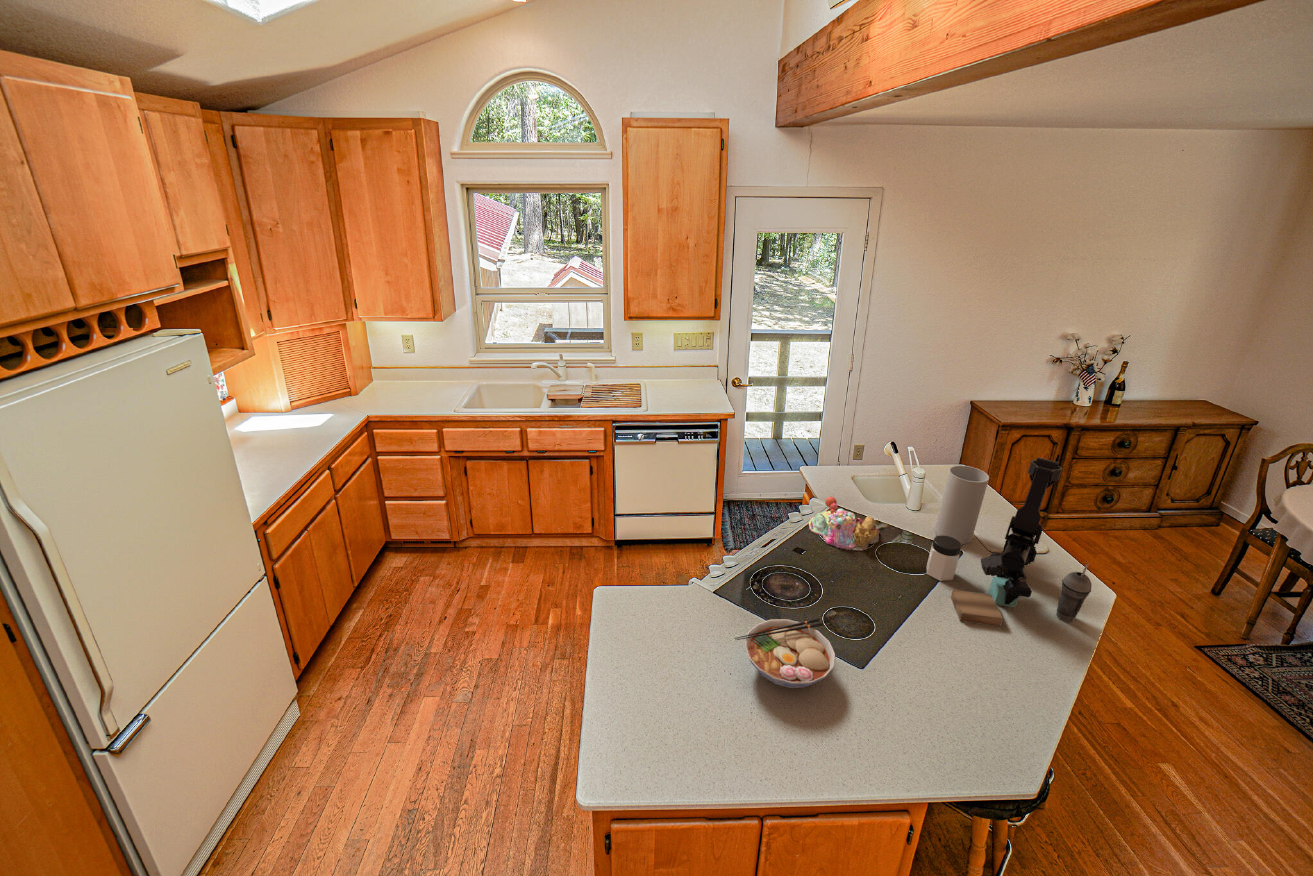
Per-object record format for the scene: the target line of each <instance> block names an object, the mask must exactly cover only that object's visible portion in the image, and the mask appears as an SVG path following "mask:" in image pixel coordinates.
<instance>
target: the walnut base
mask: <svg viewBox="0 0 1313 876" xmlns="http://www.w3.org/2000/svg"><path fill="white" fill-rule="evenodd" d="M950 600H951V602H952V605H953V607H954V610H955V612H956V615H957V618H958V620H959V622H961V623H962V622H963V623H970V624H975V625H976V624H979V625H985V626H992V627H993V626H994V627H1001V626H1002V622H1003V619H1004V618H1003V616H1002V614H1001V611H1000V609H999V608H998V605H996V603H995V601H994V599H993V597H992V595H991V594H989V593H983V592H982V593H981V592H974V591H967V590H958V589H952V592H951V595H950Z"/></svg>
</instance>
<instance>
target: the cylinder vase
mask: <svg viewBox="0 0 1313 876" xmlns="http://www.w3.org/2000/svg"><path fill="white" fill-rule="evenodd" d="M947 473H948V474H947V477H946V481H945V484H944V487H943V488H944V489H943V493H942V495H941V501H940V506H939V508H938V513H937V517H936V521H935V525H934V529H933V530H934V533H935V535H936V536H940V535H944V536H949V537H952V538H954V539H956V540H958V541H959V542H960V543H961V545H967V544H969V543H971V541H972V540H973V537H974V534H975V530H976V527H977V522H978V519H979V516H980V512H981V509H982V505H983V501H984V497H985V494H986V490H987V487H988V484H989V479H990V476H989V475H988V474H987V472H985V471H983V470H982V469H980V468H976V467H974V466H969V465H959V464H958V465H953V466H951V467H949V469H948V472H947Z"/></svg>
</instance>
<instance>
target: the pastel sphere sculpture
mask: <svg viewBox="0 0 1313 876" xmlns="http://www.w3.org/2000/svg"><path fill="white" fill-rule="evenodd" d="M824 502H825V503H824V504H825V506H826V507H827V508H829V510H828V511H825V510H824V511H821V512H820V511H818V512H817V513H816V514H815V515H813V517H810V520H809V521H808V527H809V530H810V531H811V532H812V533H814V534H815V535H819V536H821V538H823V540H824V541H825V543H826V544H827V545H832V547H833V546H834V547H836V548H837V549H839V548H840V549H841V550H842V549H845V550H854V551H864V550H865V551H866V550H867V549H868V547H869V544H870V545H872V544H876V543H879V541H880V540H879V539H880V536H879V533H880V530H879V529H878V528H877V527H876V525H875V524H876V523H875V522H876V520H875V519H874V518H873V517H871V516H869V515H867V516H866V517H865V518H859V517H857V516H856V515H855V514H854V513H853V512H851V511H847V510H845V509H843V508H839V506H838V503H837V502H838V501H837V499H836V498H835V497H834V496H829V497H827V498H826V499H825V501H824Z"/></svg>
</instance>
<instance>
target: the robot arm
mask: <svg viewBox="0 0 1313 876" xmlns="http://www.w3.org/2000/svg"><path fill="white" fill-rule="evenodd" d="M1029 463H1030V464H1029V467H1028V471H1027V474H1029V479H1030V482H1031V485H1030V488H1029V490H1028V492H1027V496H1026V499H1025V502H1024V504H1023V506H1021V507H1019V508H1018V509H1017V510H1016V513H1015V515H1014V516H1011V519H1010V522H1009V526H1008V528H1007V531H1006V534H1005V537H1004V540H1005V541H1004V542H1005V543H1004V545H1003V549H1002V552H996V551H994V552H991V553H990V554H989V556H986V557H982V558H980V565H981V570H982V571H983V573H984V575H985V576H990V577H991V576H992V577H1001V578H1009V580H1008V581H1006V582H1005V585H1003V587H1004V589H1005V591H1006V595H1005V604H1007V605H1009V604H1010V603H1011V602H1013V601H1014V600H1015V599H1017V598H1018V597H1019V598H1020V597H1023V598H1030V597H1031V596H1032V593H1033V590H1032V588H1031V586H1030V585H1029V584H1028V582H1027V581H1025V580H1024V579H1026V578H1027V576H1026V574H1025V572H1024V570H1025V567H1026V566H1029V565H1031V564H1032V563H1035V559H1036V556H1037V554H1038V553H1037V549H1036V548H1037V547H1036V545H1038V544H1039V542H1040V539H1041V537H1042V532H1043V530H1044V529H1043V525H1042V524H1040V522H1041V519H1042V515H1041V512H1040V511H1041V507H1042V503H1043V500H1044V499H1045V495H1046V491H1047V489H1049V488H1050V487H1051V486H1052V485H1054V484H1055V482H1058V481H1059V479H1060V476H1061V473H1062V469H1063V466H1060V465H1059V464H1060V462H1058V461H1055V460H1050V459H1046V458H1044V457H1039V456H1038V457H1036V460H1035V459H1031V461H1030V462H1029ZM1021 579H1023V580H1021ZM1019 598H1018V599H1019Z"/></svg>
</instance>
